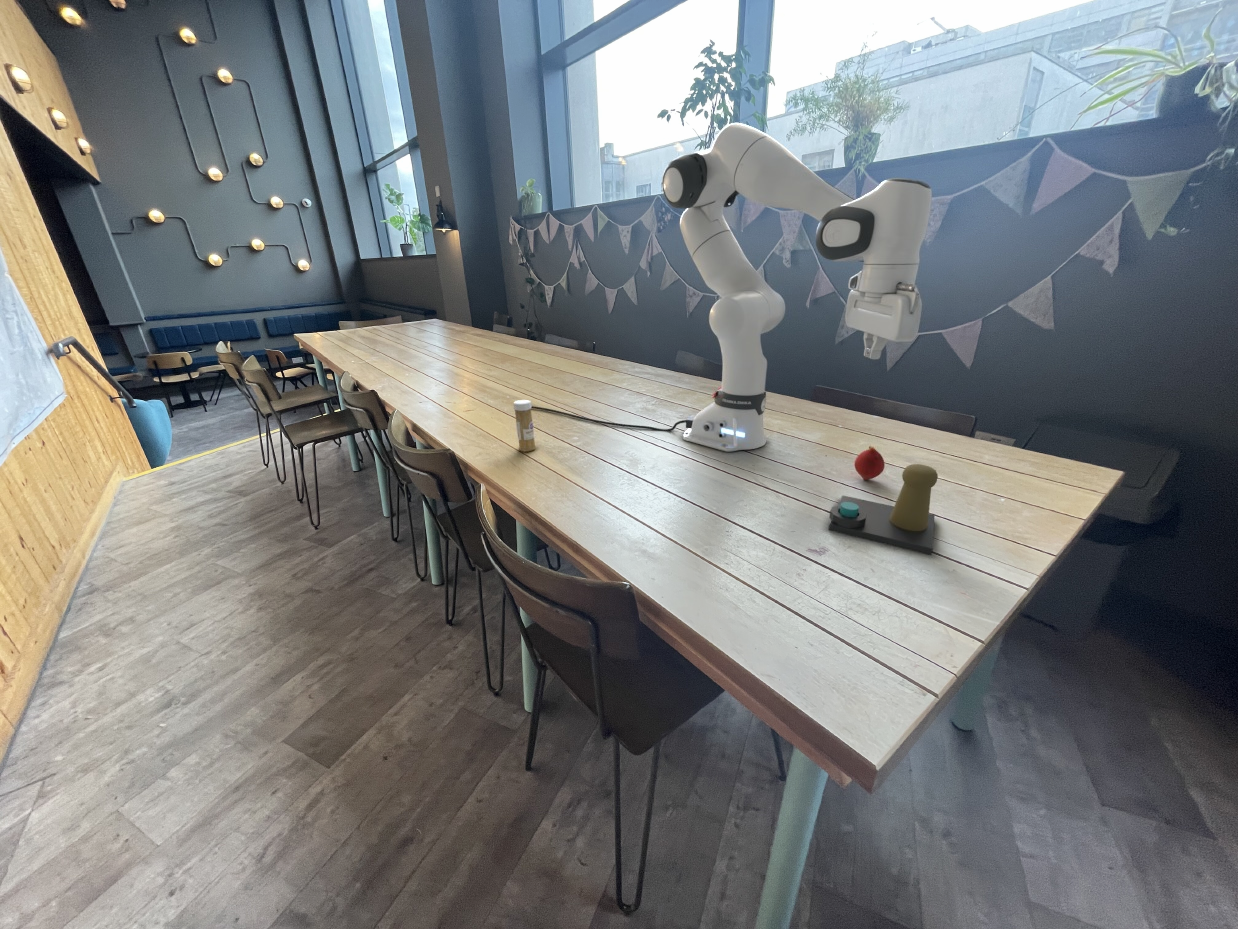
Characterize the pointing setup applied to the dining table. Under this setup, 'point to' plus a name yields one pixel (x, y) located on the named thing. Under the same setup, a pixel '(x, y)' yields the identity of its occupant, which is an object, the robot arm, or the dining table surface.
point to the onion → (869, 463)
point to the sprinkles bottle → (524, 425)
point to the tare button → (849, 509)
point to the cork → (914, 498)
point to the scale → (880, 526)
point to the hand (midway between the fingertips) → (871, 357)
